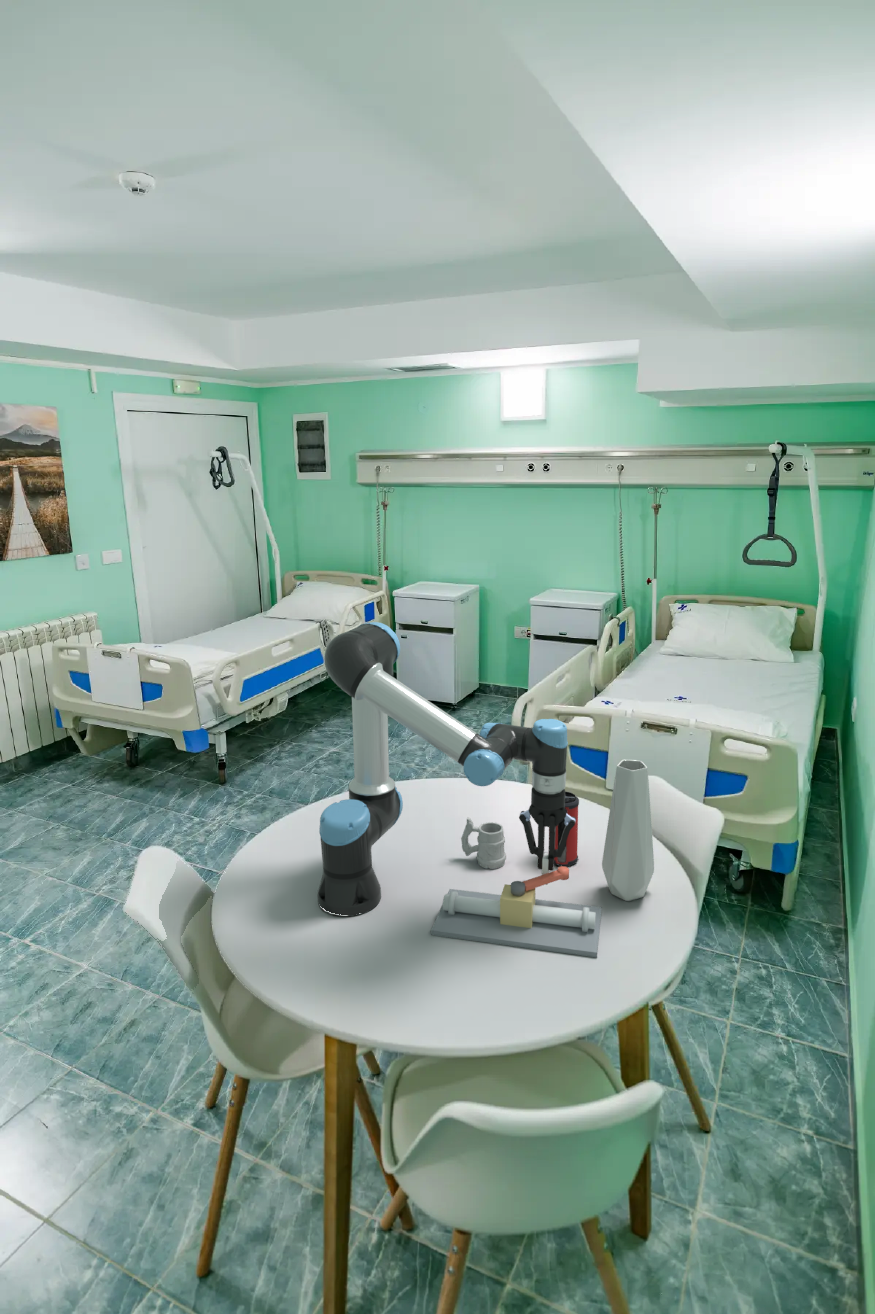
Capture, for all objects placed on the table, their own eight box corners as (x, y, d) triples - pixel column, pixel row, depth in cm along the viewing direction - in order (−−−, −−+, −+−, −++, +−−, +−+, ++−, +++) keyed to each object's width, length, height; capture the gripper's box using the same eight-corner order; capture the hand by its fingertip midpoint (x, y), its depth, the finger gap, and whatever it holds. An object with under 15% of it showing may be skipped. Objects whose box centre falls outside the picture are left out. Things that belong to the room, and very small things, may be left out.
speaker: (546, 865, 194) (547, 801, 189) (549, 851, 201) (549, 788, 197) (576, 868, 192) (578, 804, 187) (578, 853, 199) (579, 791, 195)
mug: (503, 871, 192) (503, 828, 189) (458, 866, 195) (457, 824, 192) (508, 856, 199) (508, 814, 196) (464, 851, 202) (463, 810, 199)
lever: (515, 897, 166) (515, 889, 166) (507, 891, 169) (507, 883, 169) (572, 878, 173) (572, 870, 173) (563, 872, 176) (563, 864, 175)
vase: (609, 874, 189) (613, 751, 181) (655, 885, 183) (662, 759, 175) (593, 898, 179) (596, 769, 171) (641, 911, 173) (647, 778, 165)
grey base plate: (431, 934, 167) (430, 904, 165) (449, 893, 183) (449, 865, 181) (596, 957, 158) (597, 925, 156) (601, 911, 174) (602, 882, 172)
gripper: (517, 791, 167) (515, 886, 173) (576, 798, 164) (571, 894, 170) (522, 778, 174) (520, 869, 180) (578, 783, 171) (574, 876, 177)
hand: (545, 881), depth 175 cm, fingers closed
